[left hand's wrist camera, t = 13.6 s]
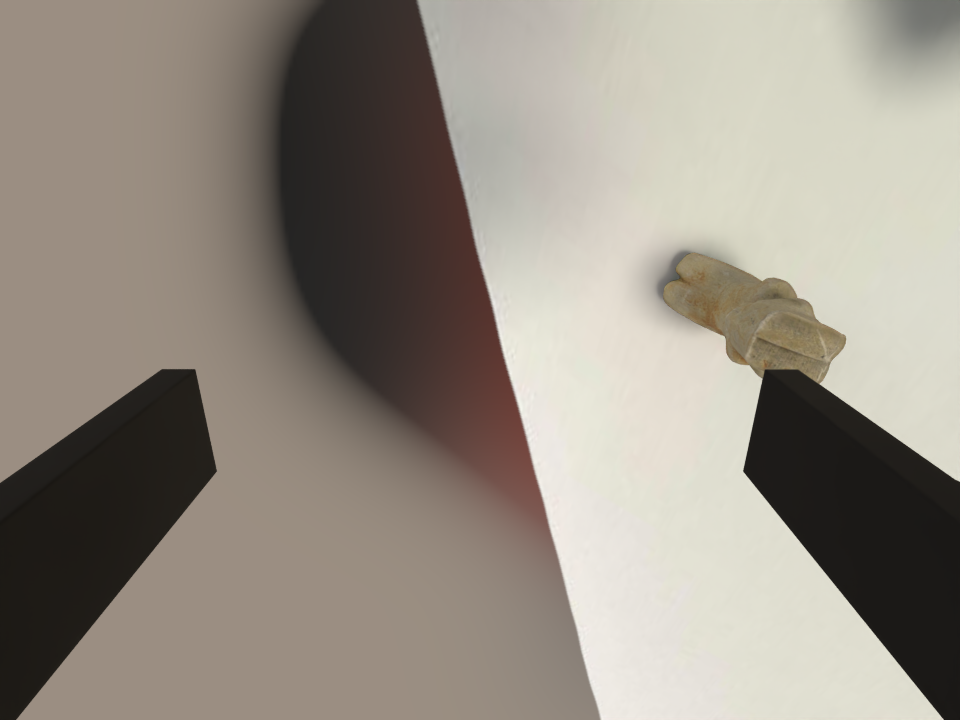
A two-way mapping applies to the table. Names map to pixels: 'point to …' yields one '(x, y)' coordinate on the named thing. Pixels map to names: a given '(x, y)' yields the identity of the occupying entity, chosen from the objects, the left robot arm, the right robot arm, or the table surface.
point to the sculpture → (754, 317)
